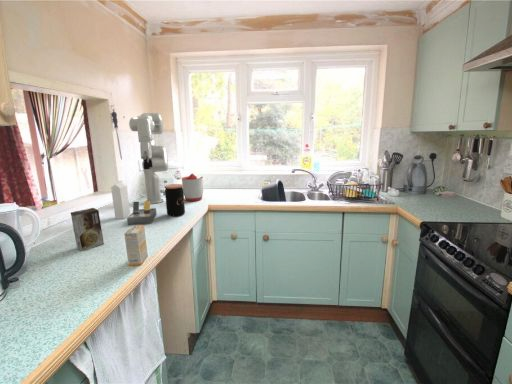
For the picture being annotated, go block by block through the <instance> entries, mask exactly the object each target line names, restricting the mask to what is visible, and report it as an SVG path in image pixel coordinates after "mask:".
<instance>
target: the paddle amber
mask: <svg viewBox="0 0 512 384" xmlns="http://www.w3.org/2000/svg"><path fill="white" fill-rule="evenodd" d="M143 205H144V206H143V209H144V213H145V212H150V209H151V204H150V201H146V200H145V201H144V202H143Z"/></svg>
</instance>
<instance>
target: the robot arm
mask: <svg viewBox="0 0 512 384" xmlns="http://www.w3.org/2000/svg"><path fill="white" fill-rule="evenodd" d="M163 124H164V123H163V119H162V116H161V114H160V113H158V112H143V113H142V114H140V115H138V116H133V117H131V118H130V119H129V122H128V125H129V129H130V131H132V132H137V137H138V143H139V144H140V145H139V147H140V148H139V149H140V159H141V160H142V163H141V166H142V170H143V174H144V181H145V190H146V200H145V201H150V205H153V204H161V203H162V202H164V198H162V197H161V196H162V194H161V184H160V177H159V176H158V174H156V173H161V172H163V173H164V172H167V171H168V169H169V159H168V153H167V148H166V147H165V146H164V145H156V140H155V139H154V138H153V135H162V134H163V132H164V127H163V126H164V125H163Z"/></svg>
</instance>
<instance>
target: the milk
mask: <svg viewBox="0 0 512 384" xmlns="http://www.w3.org/2000/svg"><path fill="white" fill-rule="evenodd" d="M110 189H111V197H112V202H113V203H112V205H113V210H114V218H115V219H118V220H119V219H120V220H126V219H127V218H128V217H129V216H130V215H131V209H130V199H129V192H128V186H127V185H126V184H125V183H123V180H118V181H115V182H114V185H112V186H111V187H110Z"/></svg>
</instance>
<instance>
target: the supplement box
mask: <svg viewBox="0 0 512 384" xmlns="http://www.w3.org/2000/svg"><path fill="white" fill-rule="evenodd" d="M124 241H125V247H126V249H125V250H126V256H127V263H128V267H135V266H136V267H138V266H142V265H143V263H144V262H145V261H146V259H147V258H148V248H147V247H148V246H147V237H146V228H145V224H140V225H131V226H130V227H129V228H128V229H127V230H126V231H124Z"/></svg>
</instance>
